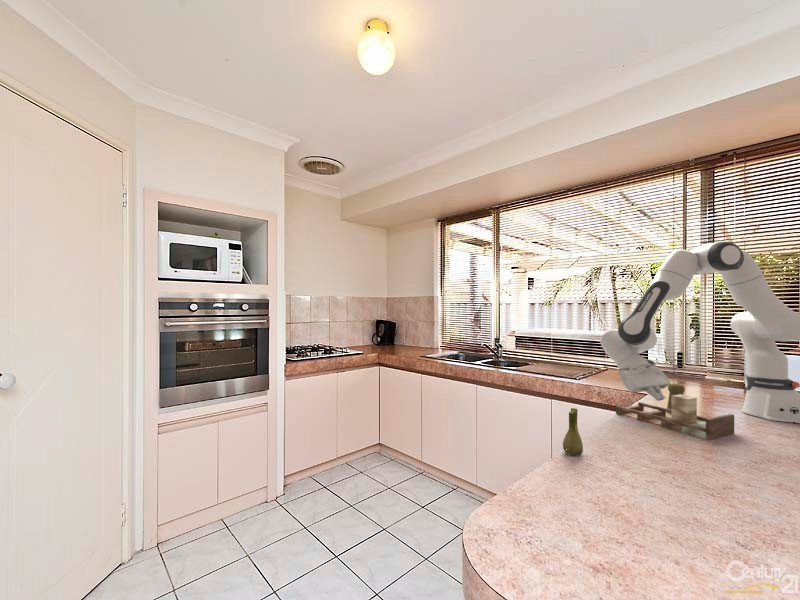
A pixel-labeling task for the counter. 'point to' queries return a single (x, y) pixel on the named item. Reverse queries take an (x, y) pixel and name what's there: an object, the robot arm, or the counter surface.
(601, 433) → the counter surface
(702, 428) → the trap box
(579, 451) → the fennel bulb
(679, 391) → the cork
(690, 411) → the birch block
